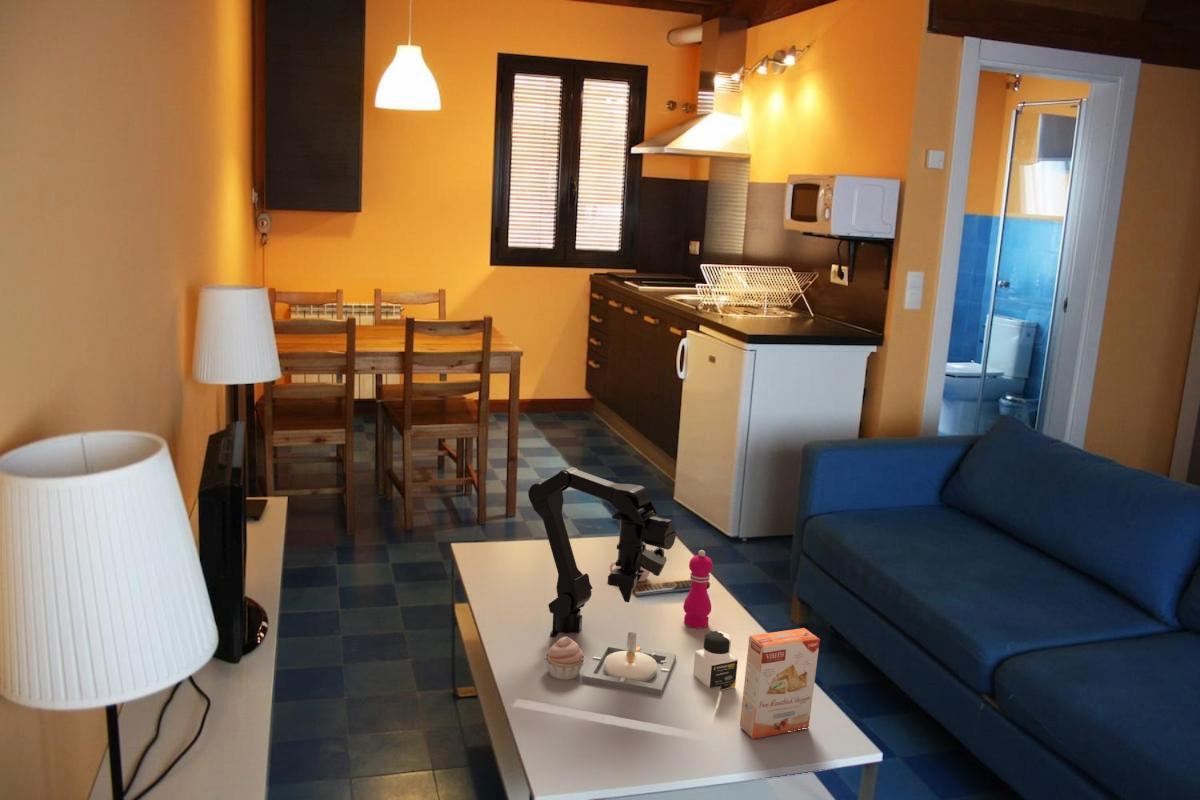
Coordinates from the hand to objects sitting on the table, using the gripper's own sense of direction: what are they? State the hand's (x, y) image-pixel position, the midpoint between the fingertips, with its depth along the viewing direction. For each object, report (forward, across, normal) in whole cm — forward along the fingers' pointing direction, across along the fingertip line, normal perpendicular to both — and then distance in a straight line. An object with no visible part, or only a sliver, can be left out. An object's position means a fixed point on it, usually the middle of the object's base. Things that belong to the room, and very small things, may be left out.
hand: (627, 601), depth 237 cm
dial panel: (+13, -11, -4) cm, 17 cm away
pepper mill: (+13, +23, -14) cm, 30 cm away
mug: (+13, +46, +9) cm, 49 cm away
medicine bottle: (+13, -8, -23) cm, 28 cm away
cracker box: (+13, -23, -38) cm, 46 cm away
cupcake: (+13, -17, +10) cm, 24 cm away
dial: (+12, -11, -4) cm, 17 cm away
